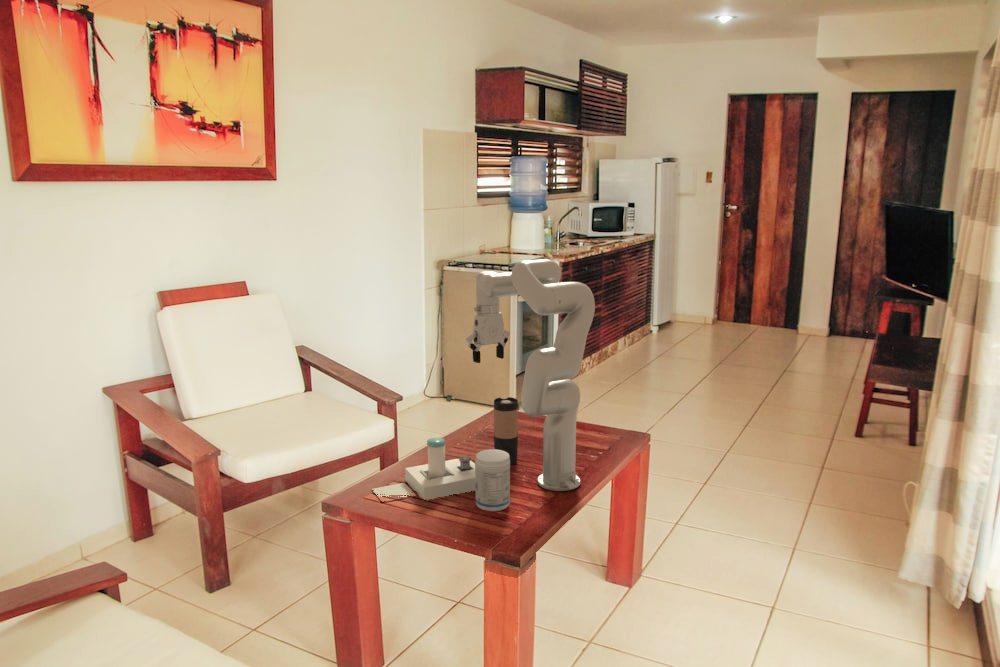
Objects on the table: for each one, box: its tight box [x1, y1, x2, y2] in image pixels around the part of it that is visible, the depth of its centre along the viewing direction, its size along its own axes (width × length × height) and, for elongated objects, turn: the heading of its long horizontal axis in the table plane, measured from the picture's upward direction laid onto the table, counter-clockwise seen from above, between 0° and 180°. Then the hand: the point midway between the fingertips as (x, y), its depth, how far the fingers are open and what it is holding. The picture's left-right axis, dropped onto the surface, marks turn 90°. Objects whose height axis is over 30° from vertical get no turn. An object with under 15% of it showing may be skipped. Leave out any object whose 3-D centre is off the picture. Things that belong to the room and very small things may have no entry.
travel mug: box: [493, 396, 519, 465], centre depth 240 cm, size 8×8×20 cm
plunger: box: [459, 455, 472, 471], centre depth 225 cm, size 4×4×5 cm
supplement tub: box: [474, 448, 511, 512], centre depth 208 cm, size 10×10×15 cm
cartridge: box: [426, 437, 446, 479], centre depth 221 cm, size 5×5×14 cm
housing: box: [404, 457, 476, 501], centre depth 223 cm, size 16×20×4 cm
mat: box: [371, 482, 414, 497], centre depth 218 cm, size 10×10×1 cm
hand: (488, 360), depth 252 cm, fingers open, 9 cm apart
